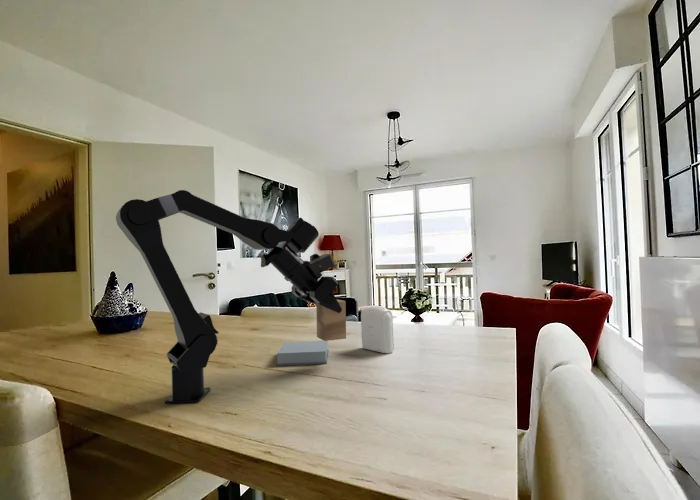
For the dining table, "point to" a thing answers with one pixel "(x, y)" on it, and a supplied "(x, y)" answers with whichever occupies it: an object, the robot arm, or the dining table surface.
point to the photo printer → (377, 329)
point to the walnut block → (331, 322)
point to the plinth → (303, 353)
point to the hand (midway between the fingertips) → (335, 310)
